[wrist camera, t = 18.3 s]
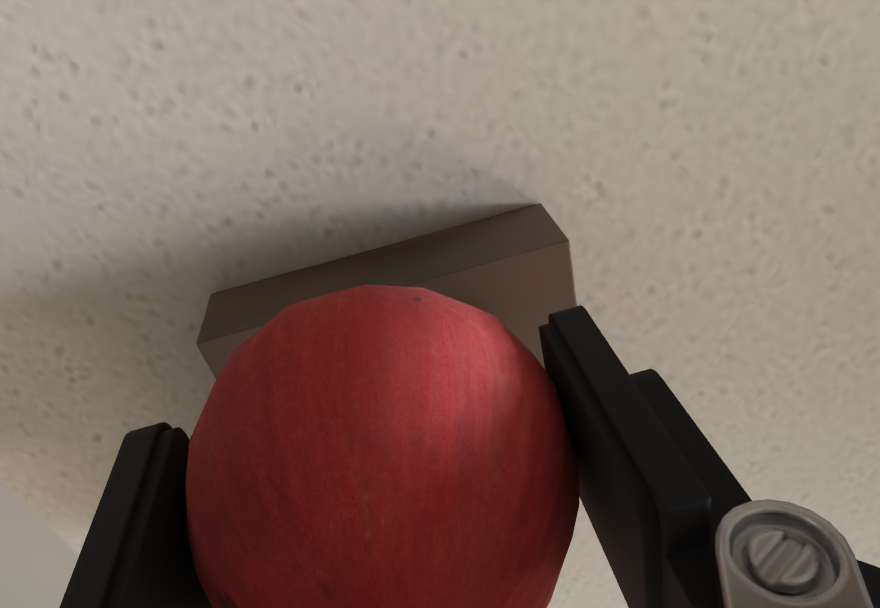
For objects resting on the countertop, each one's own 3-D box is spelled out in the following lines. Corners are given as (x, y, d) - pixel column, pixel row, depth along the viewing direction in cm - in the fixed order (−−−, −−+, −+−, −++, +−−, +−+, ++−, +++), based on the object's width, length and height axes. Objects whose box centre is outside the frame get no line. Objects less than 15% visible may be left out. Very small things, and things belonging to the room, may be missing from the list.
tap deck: (314, 496, 28) (313, 558, 25) (209, 291, 21) (193, 344, 19) (572, 423, 28) (598, 477, 25) (540, 200, 22) (571, 239, 19)
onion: (426, 463, 15) (508, 902, 8) (184, 399, 13) (35, 921, 6) (556, 270, 13) (818, 668, 6) (287, 153, 11) (228, 565, 4)
